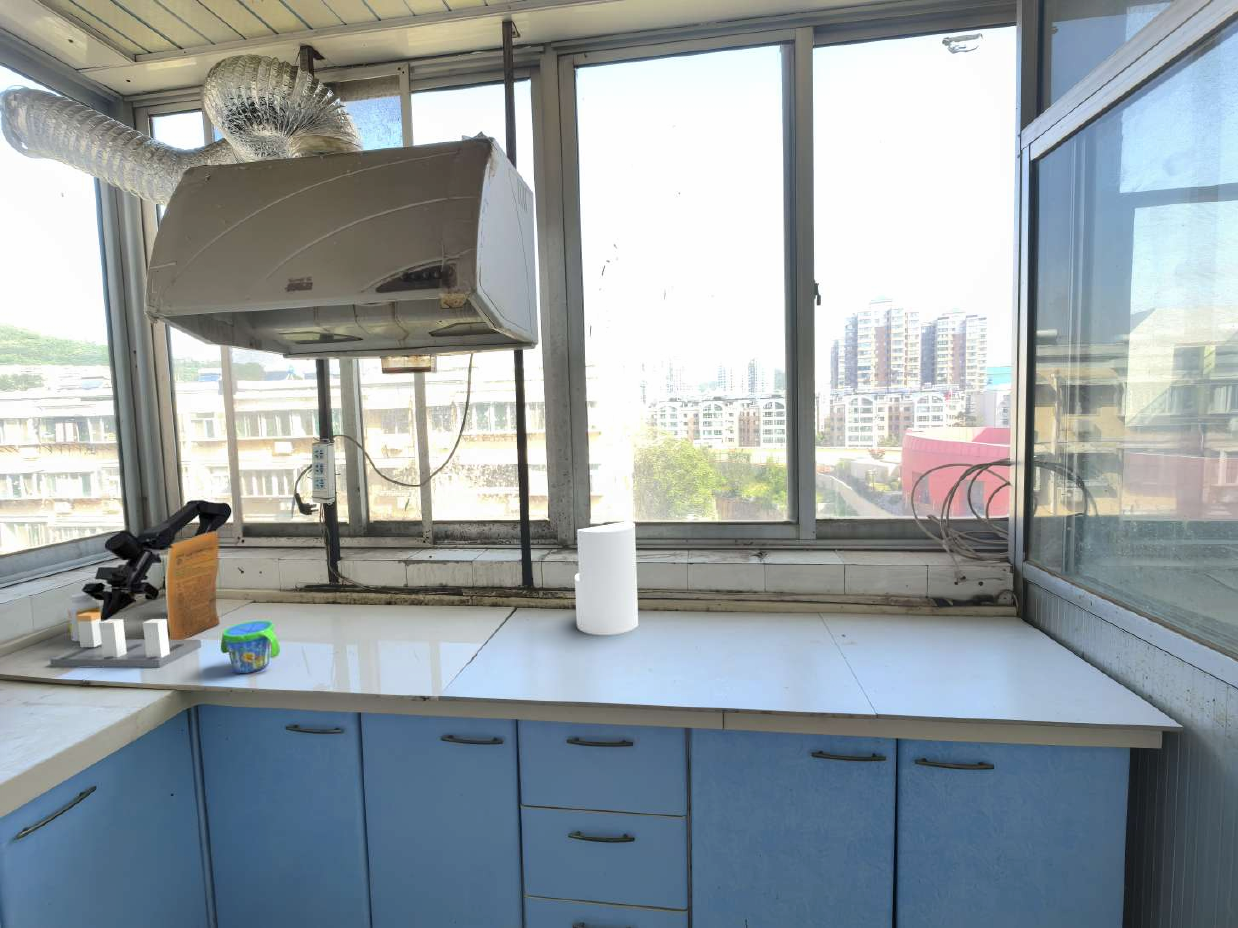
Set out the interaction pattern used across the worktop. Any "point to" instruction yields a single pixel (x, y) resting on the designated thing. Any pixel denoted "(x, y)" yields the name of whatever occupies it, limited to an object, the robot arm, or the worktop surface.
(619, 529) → the cylinder
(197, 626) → the pancake mix bag
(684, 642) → the worktop surface
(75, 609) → the supplement bottle
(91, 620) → the block
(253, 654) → the snack cup
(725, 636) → the worktop surface
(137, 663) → the grey plate with uprights
